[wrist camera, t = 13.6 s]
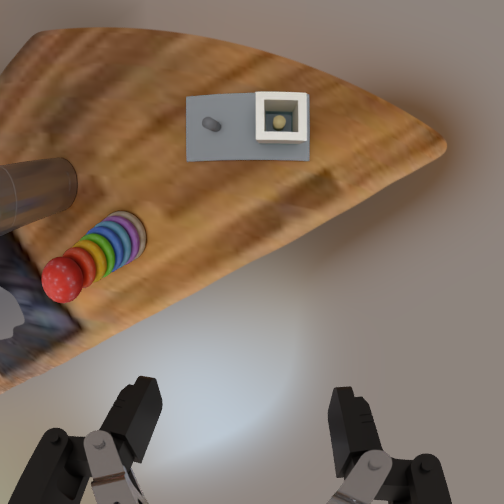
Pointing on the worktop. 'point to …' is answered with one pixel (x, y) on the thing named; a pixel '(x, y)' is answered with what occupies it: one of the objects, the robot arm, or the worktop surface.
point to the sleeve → (287, 106)
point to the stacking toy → (94, 256)
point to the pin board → (235, 130)
